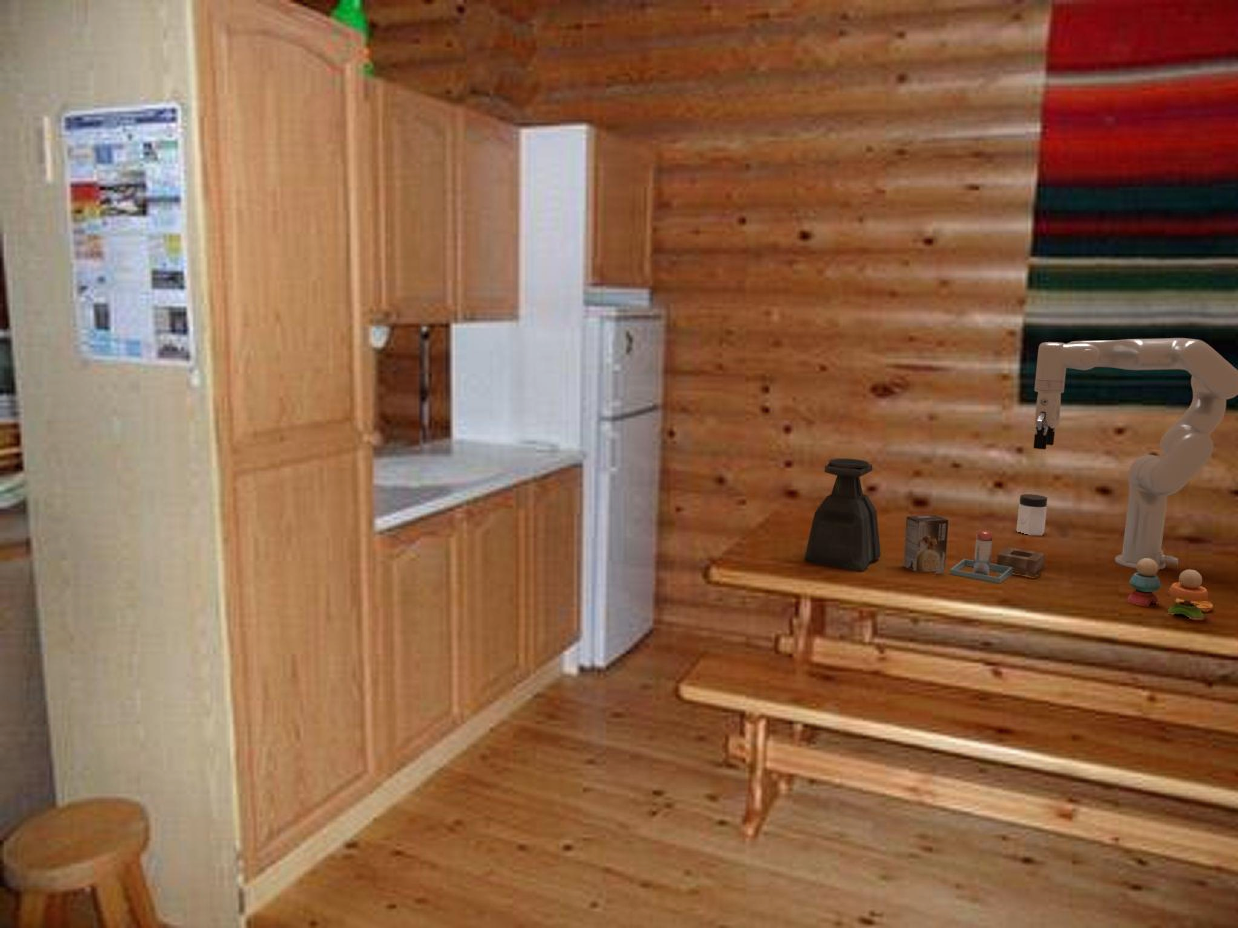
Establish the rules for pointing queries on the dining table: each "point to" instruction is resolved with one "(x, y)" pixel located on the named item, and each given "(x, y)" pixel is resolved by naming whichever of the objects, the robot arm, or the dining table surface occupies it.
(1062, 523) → the dining table surface
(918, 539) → the coffee box
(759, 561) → the dining table surface
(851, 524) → the bottle
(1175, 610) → the wooden stacking toy
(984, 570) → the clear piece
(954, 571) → the tray
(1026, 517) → the jar
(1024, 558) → the block
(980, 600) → the dining table surface
